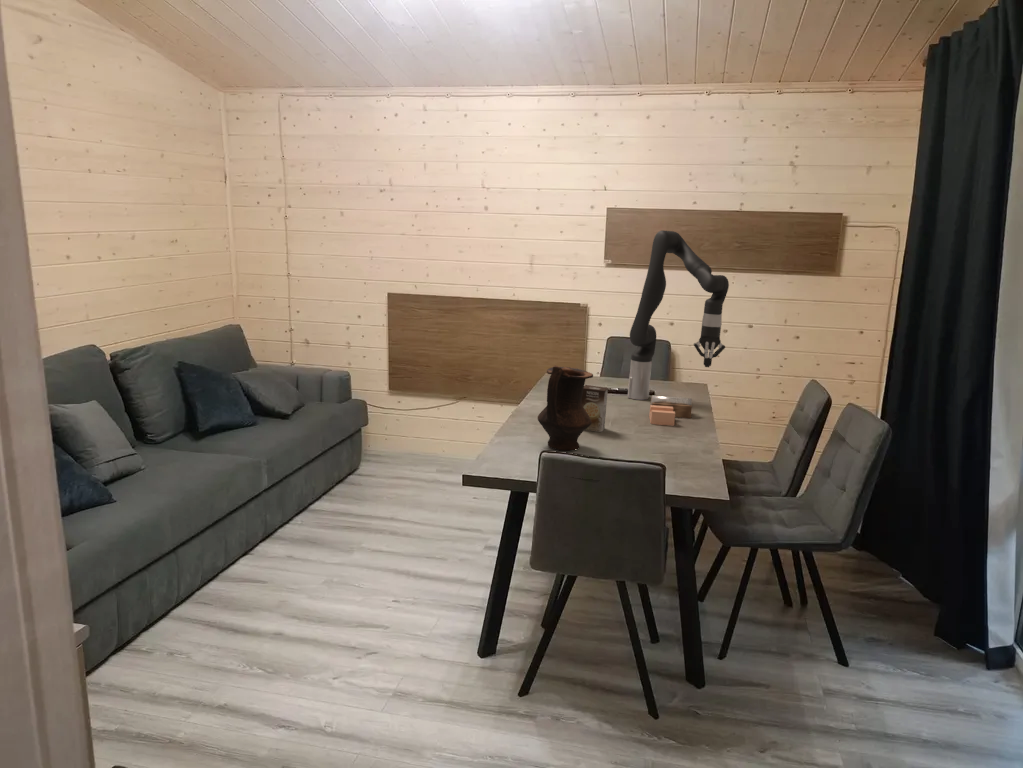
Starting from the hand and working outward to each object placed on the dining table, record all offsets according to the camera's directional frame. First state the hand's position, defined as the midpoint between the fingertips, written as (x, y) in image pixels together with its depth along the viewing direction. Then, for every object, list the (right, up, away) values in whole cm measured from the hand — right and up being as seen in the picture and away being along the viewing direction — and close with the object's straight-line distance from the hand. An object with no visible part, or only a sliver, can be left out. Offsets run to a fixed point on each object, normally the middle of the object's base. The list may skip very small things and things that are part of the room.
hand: (707, 366), depth 297 cm
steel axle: (-14, -16, +5) cm, 22 cm away
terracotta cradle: (-20, -22, -6) cm, 30 cm away
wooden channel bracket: (-14, -19, +6) cm, 25 cm away
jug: (-63, -29, -46) cm, 83 cm away
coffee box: (-50, -24, -21) cm, 59 cm away
